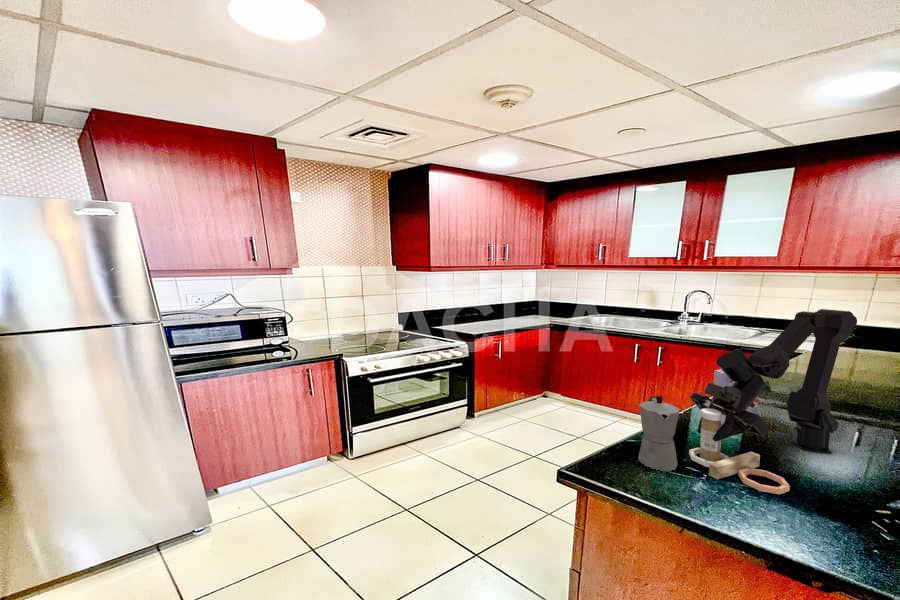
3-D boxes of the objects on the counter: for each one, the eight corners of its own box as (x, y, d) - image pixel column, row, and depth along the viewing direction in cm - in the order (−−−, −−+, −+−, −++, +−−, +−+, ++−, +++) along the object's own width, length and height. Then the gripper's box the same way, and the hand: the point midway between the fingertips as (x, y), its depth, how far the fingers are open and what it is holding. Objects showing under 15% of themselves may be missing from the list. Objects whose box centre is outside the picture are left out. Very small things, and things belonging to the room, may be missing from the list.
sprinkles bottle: (723, 461, 99) (725, 411, 98) (715, 466, 96) (717, 415, 95) (703, 454, 103) (705, 406, 102) (696, 458, 100) (697, 409, 99)
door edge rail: (750, 462, 98) (751, 451, 98) (759, 466, 96) (759, 455, 96) (708, 475, 92) (709, 463, 92) (717, 479, 90) (717, 467, 90)
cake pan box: (724, 427, 120) (726, 373, 119) (708, 421, 124) (710, 369, 123) (759, 417, 127) (762, 366, 126) (742, 412, 132) (745, 363, 131)
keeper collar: (778, 477, 91) (778, 472, 91) (794, 497, 83) (795, 492, 83) (735, 470, 94) (735, 465, 94) (746, 488, 86) (746, 483, 86)
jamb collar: (724, 455, 102) (724, 451, 102) (734, 471, 94) (734, 466, 94) (687, 449, 105) (687, 445, 105) (693, 464, 97) (693, 460, 97)
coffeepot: (685, 478, 91) (688, 406, 89) (642, 473, 94) (644, 402, 92) (669, 449, 105) (671, 387, 104) (632, 445, 108) (633, 384, 107)
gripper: (696, 364, 108) (661, 404, 106) (761, 383, 89) (720, 432, 88) (718, 389, 110) (684, 429, 108) (786, 412, 91) (746, 461, 90)
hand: (706, 436), depth 99 cm, fingers closed on sprinkles bottle, 4 cm apart
